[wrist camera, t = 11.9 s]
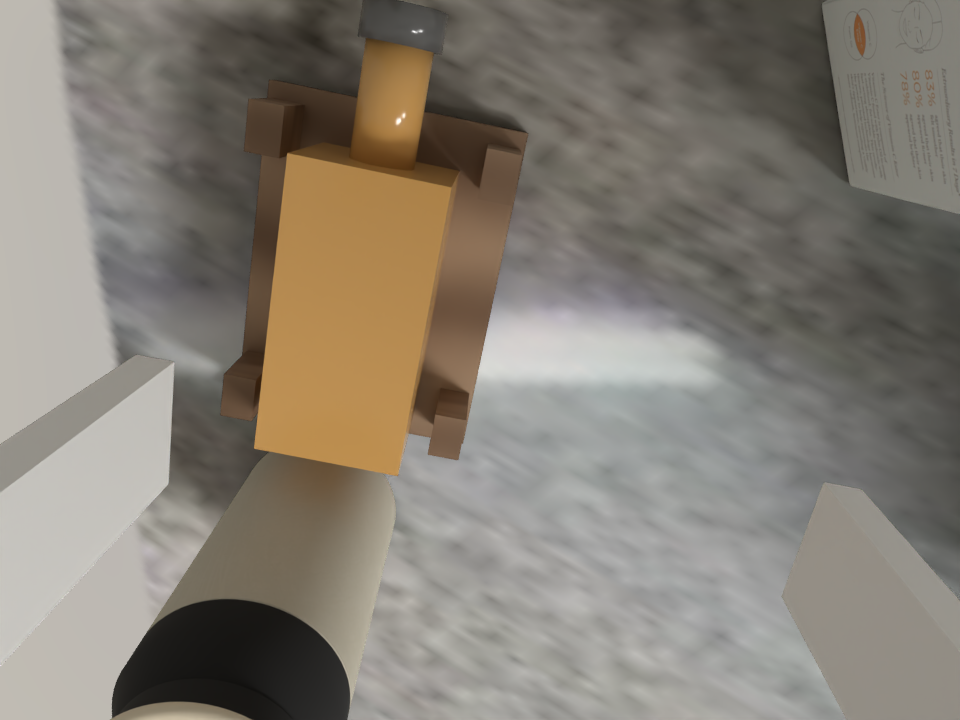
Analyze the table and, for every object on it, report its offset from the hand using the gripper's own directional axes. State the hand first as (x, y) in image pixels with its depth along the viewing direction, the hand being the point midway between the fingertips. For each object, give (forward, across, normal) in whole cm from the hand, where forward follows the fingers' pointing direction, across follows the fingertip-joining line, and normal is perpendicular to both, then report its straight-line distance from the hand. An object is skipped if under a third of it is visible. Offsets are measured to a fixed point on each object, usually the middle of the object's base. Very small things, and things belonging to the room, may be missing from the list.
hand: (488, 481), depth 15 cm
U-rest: (+21, +6, +1) cm, 22 cm away
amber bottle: (+20, +6, -1) cm, 21 cm away
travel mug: (+22, +7, +14) cm, 27 cm away
